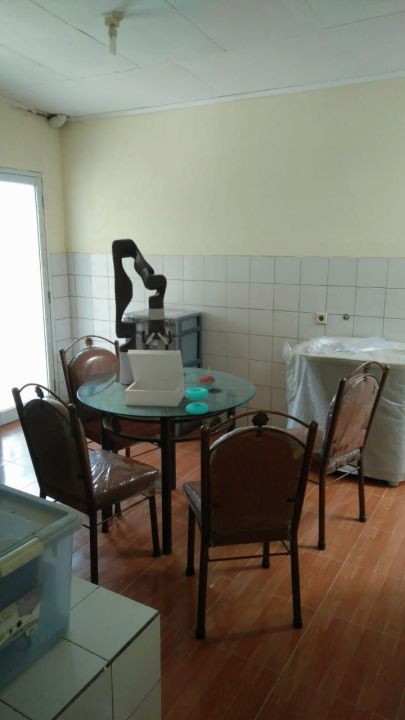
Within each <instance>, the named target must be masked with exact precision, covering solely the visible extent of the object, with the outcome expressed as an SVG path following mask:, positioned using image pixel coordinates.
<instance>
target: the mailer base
mask: <svg viewBox="0 0 405 720" xmlns="http://www.w3.org/2000/svg"><path fill="white" fill-rule="evenodd" d="M124 396H125V397H124V398H125V399H124V401H125V406H128V407H129V406H133V407H134V406H135V407H136V406H137V407H140V406H141V407H170V408H172V407H173V408H176V407H177V408H178V407H179V406H180V404H181V402H182V401H183V399H184V397H185V381H184V382H153V381H135V382H134V383H133V384H129V386H128V387H127V388H126V389H125V390H124Z"/></svg>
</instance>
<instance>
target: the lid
mask: <svg viewBox="0 0 405 720" xmlns="http://www.w3.org/2000/svg"><path fill="white" fill-rule="evenodd" d="M127 355H129V357H130V362H131V367H132V371H133V376H134V381H143V382H184V383H185V376H184V367H183V360H182V352H181V350H180V349H179V350H177V349H176V350H173V349H172V350H170V349H169V350H165V349H161V345H159V344H157V345H155V344H153V345H152V349H150V350H146V349H137V350H128V353H127Z"/></svg>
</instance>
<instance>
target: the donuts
mask: <svg viewBox="0 0 405 720" xmlns="http://www.w3.org/2000/svg"><path fill="white" fill-rule="evenodd" d="M184 395H185V396H186V397H187V398H188V399H191V400H203V399H206V398H207V397H208V396H209V390H207V389H205V388H202V387H190V388H187V390H185V392H184ZM209 410H210V408H209V405H208V404H206V403H205V402H199V401H198V402H197V401H196V402H195V401H194V402H191V403H188V404H187V406H186V407H185V411H186V413H188V414H190V415H193V416H194V415H195V416H198V415H204V414H207V413H208V412H209Z"/></svg>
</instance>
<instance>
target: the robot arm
mask: <svg viewBox="0 0 405 720" xmlns="http://www.w3.org/2000/svg"><path fill="white" fill-rule="evenodd" d="M111 256H112V263H113V272H114V273H113V276H114V277H113V278H114V286H113V287H114V302H115V305H114V306H115V321H114V322H115V324H114V325H115V331H114V332H115V336H116V338H117V339H129V340H128V341H127V342H125V343H122V344H120V345H119V346H118V350H119V351H118V352H119V372H120V374H119V375H120V384H123V385H131V384H133V383H134V382H135V381H134V376H133V371H132V367H131V362H130V357H129V355H127V353H128V350H138V347H137V332H138V331H137V328H138V327H137V323H136V321H135V320H132V319H131V320H123V317H124V314H125V311H126V309H127V308H128V307H129V305H130V303H131V302H132V299H133V297H134V286H133V281H132V280H131V278H130V276H129V275H128V273H127V272H126V270H125V268H124V264H123V259H129V258H132V259H134V261H133V269H134V271H135V272H136V274H137V275H138V276H139V277H140V278H141V281H142V283H143V286H144V288H145V289H146V290H148V291H155V293H154V294H152V295H149V296H148V314H147V315H148V316H147V317H148V330H147V329H143V330H142V331H141V334H142V335H141V343H142V344H144V345H145V347H146V348H145V350H151V344H150V343H151V341H152V340H160V341H161V340H162V342H163V343H164V348H165V349H164V350H170V344H172V343H173V341H174V340H173V339H174V338H173V330H172V329H169V330H166V322H165V321H166V319H165V318H166V317H165V314H166V313H165V303H164V300H165V295H166V290H167V286H168V281H167V278H166V276H165V275H164V274H158V273H157V274H155V270H154V268H153V267H152V265H150V263H149V262H147V260H146V259H145V258H144V256H143V254H142V252H141V251H140V249H139V247H138V245H137V244H136V242H135V241H134V240H133V239H131V238H117V239H113V241H112V243H111ZM147 335H149V337H148V339H147ZM166 335H167V336H168V338H167V337H166Z"/></svg>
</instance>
